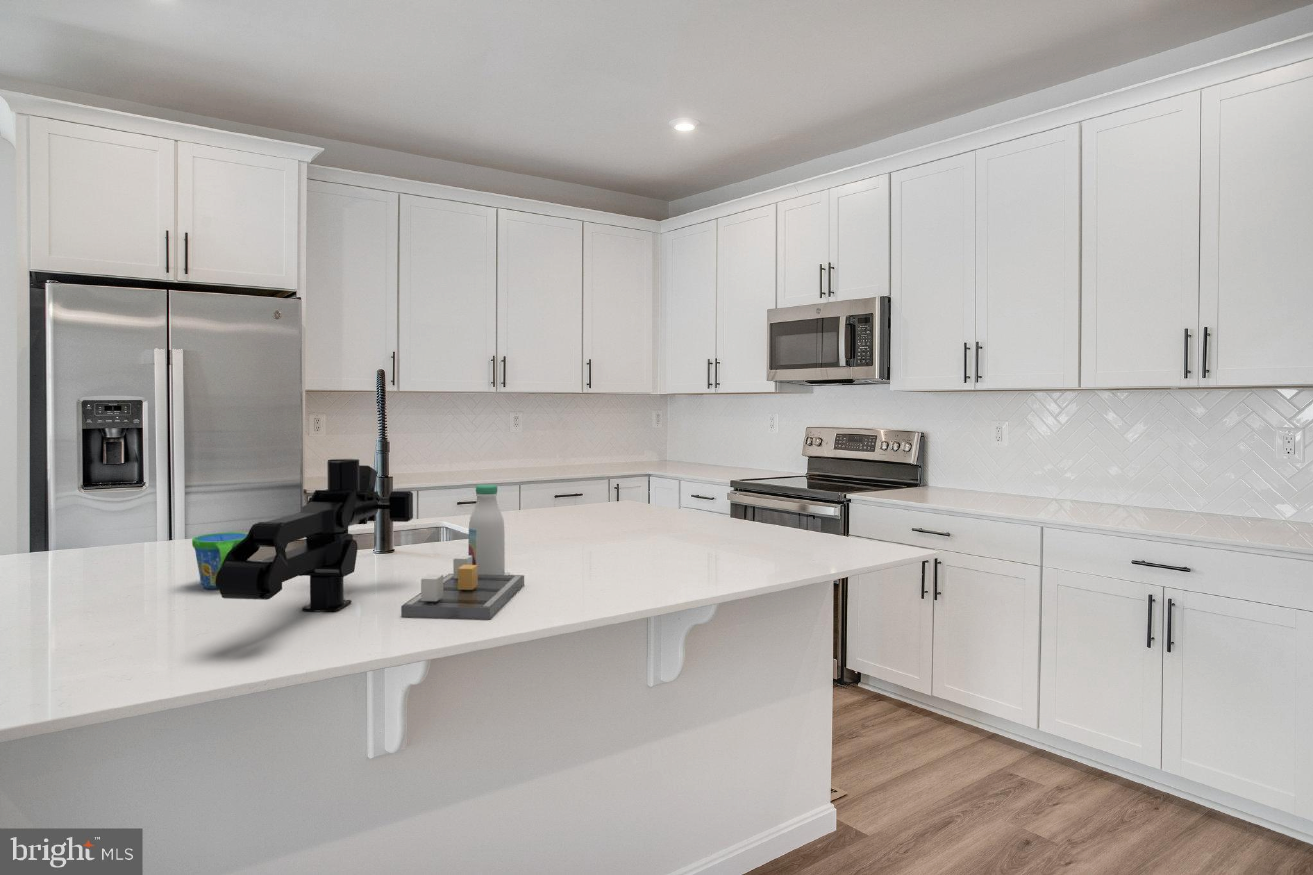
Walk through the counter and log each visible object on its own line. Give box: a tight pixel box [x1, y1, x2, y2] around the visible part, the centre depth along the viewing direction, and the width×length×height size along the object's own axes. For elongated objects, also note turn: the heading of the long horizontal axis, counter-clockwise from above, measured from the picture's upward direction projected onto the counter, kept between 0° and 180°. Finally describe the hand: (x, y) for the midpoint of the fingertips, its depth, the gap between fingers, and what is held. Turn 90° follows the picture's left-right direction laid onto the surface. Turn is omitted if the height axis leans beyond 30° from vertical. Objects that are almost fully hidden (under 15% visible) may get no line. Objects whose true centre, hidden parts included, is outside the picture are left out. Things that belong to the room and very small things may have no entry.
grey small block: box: [420, 573, 444, 601], centre depth 141 cm, size 4×3×4 cm
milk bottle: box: [467, 484, 506, 575], centre depth 170 cm, size 8×8×20 cm
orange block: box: [458, 565, 478, 590], centre depth 150 cm, size 4×3×4 cm
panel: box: [400, 573, 525, 620], centre depth 150 cm, size 26×16×2 cm, turn 177°
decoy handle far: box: [452, 554, 472, 578], centre depth 159 cm, size 4×3×4 cm
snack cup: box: [191, 532, 248, 590], centre depth 159 cm, size 16×10×10 cm
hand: (383, 500), depth 168 cm, fingers open, 9 cm apart
